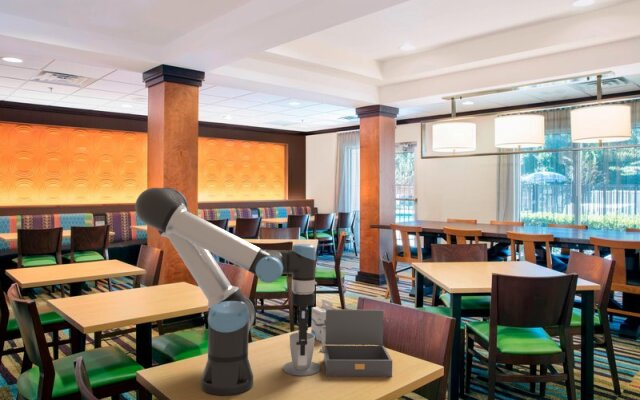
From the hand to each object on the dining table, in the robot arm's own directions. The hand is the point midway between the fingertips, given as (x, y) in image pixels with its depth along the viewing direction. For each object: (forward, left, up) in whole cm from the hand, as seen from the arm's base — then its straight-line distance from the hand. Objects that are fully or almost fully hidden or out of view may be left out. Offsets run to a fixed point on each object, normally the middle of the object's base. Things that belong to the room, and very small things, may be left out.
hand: (301, 357), depth 152 cm
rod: (+11, +17, -4) cm, 21 cm away
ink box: (+8, +32, -4) cm, 33 cm away
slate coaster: (0, 0, -4) cm, 4 cm away
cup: (0, 0, -3) cm, 3 cm away
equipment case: (+18, +1, -4) cm, 18 cm away
